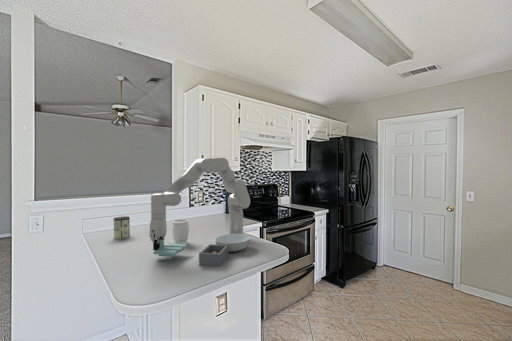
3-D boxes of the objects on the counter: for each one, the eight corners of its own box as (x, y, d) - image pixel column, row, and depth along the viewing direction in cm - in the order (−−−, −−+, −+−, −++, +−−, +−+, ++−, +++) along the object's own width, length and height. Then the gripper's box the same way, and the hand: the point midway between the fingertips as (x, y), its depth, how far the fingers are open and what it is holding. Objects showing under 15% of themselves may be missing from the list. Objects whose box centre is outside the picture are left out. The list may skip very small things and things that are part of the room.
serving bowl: (232, 242, 162) (232, 231, 162) (257, 248, 149) (257, 237, 149) (208, 250, 146) (207, 239, 146) (233, 258, 133) (233, 245, 133)
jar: (184, 246, 154) (183, 222, 154) (169, 245, 156) (168, 222, 156) (191, 241, 165) (191, 219, 165) (177, 240, 167) (177, 218, 167)
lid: (162, 247, 143) (162, 236, 143) (187, 248, 140) (187, 237, 140) (146, 256, 127) (146, 244, 127) (174, 258, 125) (174, 245, 125)
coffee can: (119, 235, 184) (119, 216, 184) (132, 235, 183) (132, 216, 183) (110, 238, 174) (110, 219, 174) (124, 239, 173) (123, 219, 173)
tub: (209, 255, 138) (209, 244, 138) (228, 255, 136) (228, 245, 136) (199, 265, 123) (198, 253, 123) (220, 266, 121) (219, 254, 121)
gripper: (160, 213, 144) (160, 244, 143) (143, 218, 127) (143, 254, 127) (172, 213, 142) (172, 245, 142) (156, 219, 126) (156, 254, 126)
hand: (158, 248), depth 135 cm, fingers closed on lid, 3 cm apart
